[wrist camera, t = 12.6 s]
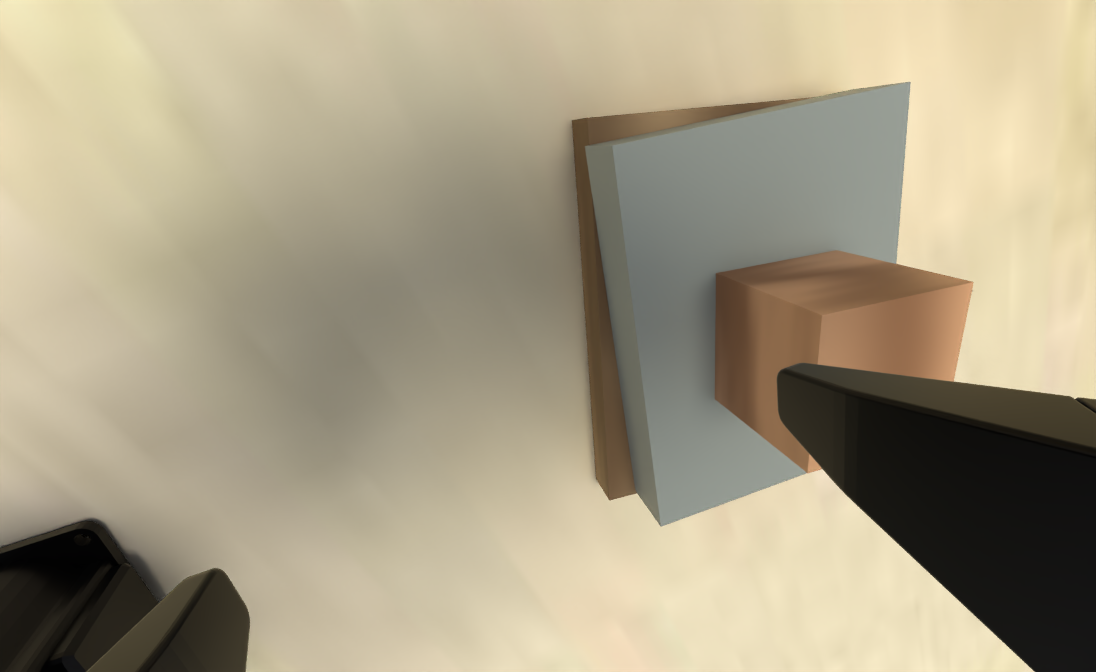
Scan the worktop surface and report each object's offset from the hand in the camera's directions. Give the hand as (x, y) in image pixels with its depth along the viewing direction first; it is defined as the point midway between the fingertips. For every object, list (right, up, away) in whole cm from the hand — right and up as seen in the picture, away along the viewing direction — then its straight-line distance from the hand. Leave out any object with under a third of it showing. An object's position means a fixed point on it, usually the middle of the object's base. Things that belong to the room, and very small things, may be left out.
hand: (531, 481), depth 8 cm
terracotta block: (+9, +3, +11) cm, 15 cm away
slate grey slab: (+8, +3, +14) cm, 16 cm away
